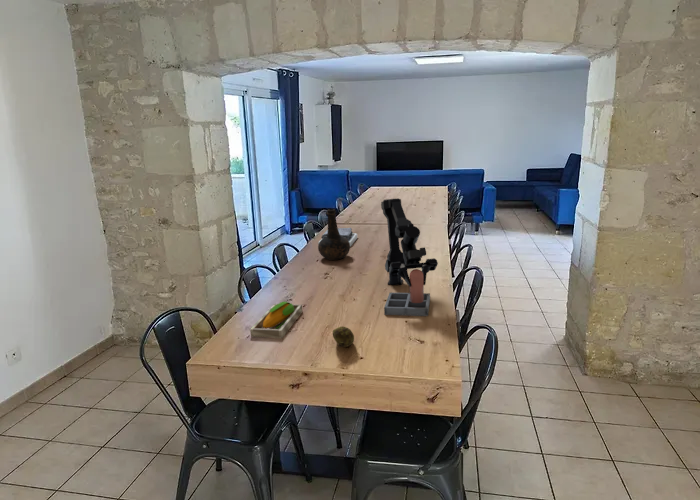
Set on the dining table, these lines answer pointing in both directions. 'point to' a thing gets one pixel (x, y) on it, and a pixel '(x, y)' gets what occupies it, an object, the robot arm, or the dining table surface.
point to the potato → (343, 336)
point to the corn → (278, 315)
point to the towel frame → (350, 240)
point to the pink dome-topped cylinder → (416, 286)
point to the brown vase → (333, 240)
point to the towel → (342, 233)
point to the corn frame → (275, 333)
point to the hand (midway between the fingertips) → (417, 285)
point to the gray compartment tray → (406, 305)
